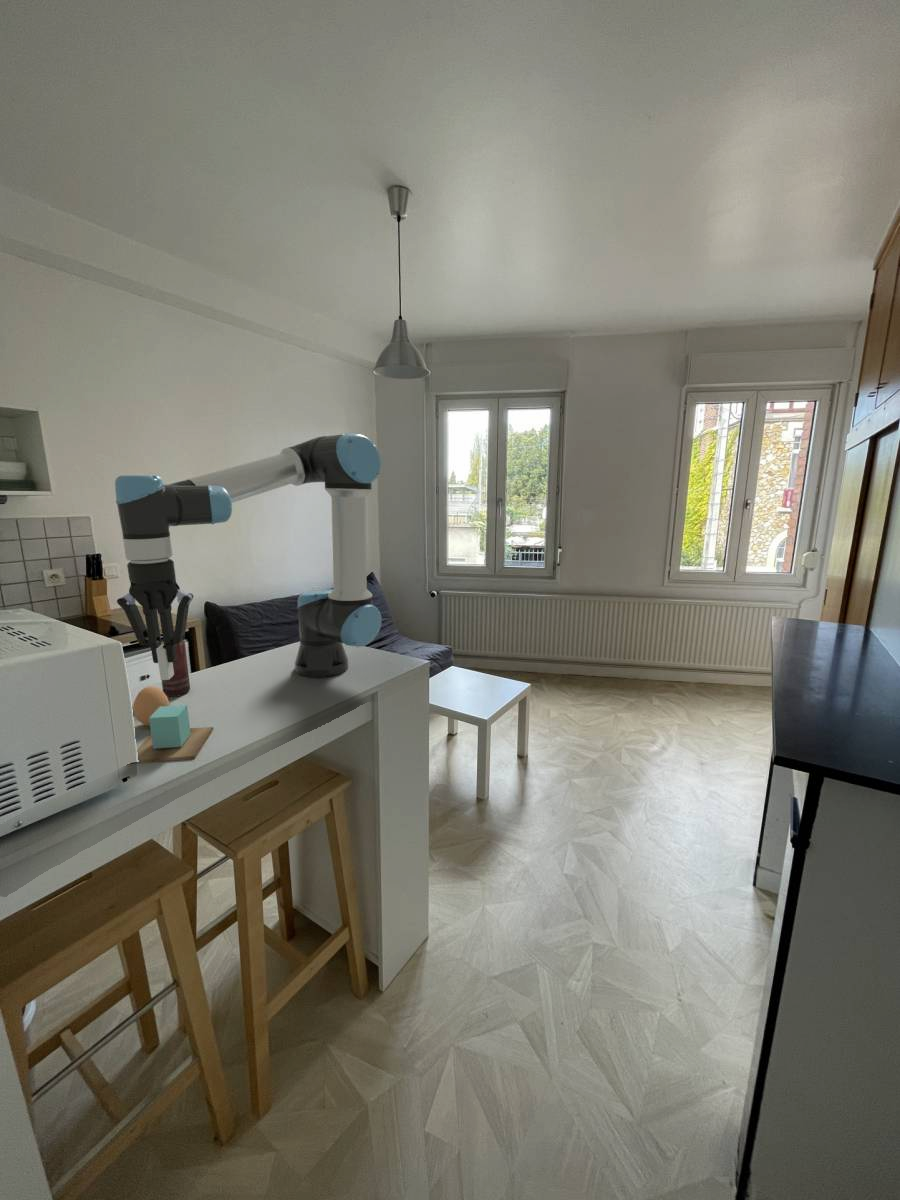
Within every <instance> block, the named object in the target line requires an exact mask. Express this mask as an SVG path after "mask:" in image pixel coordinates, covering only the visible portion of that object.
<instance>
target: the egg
mask: <svg viewBox="0 0 900 1200" xmlns="http://www.w3.org/2000/svg"><path fill="white" fill-rule="evenodd" d="M168 698H169V697H168V696H166V695H165V693H164V692H163V689H161V688H159V687H158V686H154V685H153V686H151V685H150V686H146V687H144V688H142V689H140V691H139V692H138V693H137V695H136V697H135V699H134V702H133V714H134V717H135V718H136V720H137V721H138V722H139V723H141V724H142V725H144V726H147V727H148V726H150V721H149V718H150V717H151V716H152V714H153V713H154V712H155V711H156V710H157V709H158V708H159V707H160V706H170V700H169V699H168Z"/></svg>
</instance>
